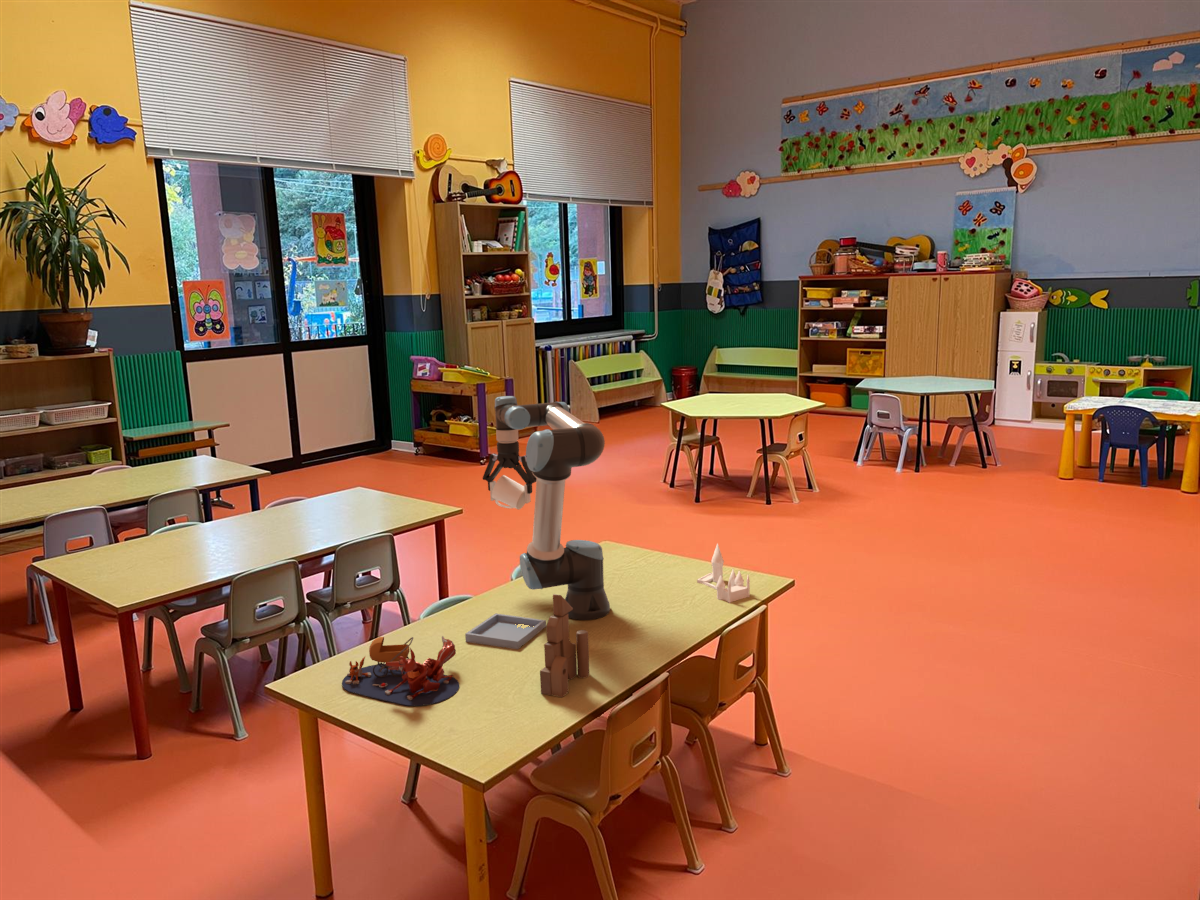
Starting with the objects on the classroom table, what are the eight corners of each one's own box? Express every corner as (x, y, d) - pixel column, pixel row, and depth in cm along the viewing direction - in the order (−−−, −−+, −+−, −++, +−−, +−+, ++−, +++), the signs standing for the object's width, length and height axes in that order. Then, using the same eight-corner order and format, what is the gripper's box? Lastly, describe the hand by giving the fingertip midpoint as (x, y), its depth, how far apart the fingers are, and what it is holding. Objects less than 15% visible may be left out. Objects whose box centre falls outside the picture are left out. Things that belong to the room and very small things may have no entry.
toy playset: (326, 686, 241) (322, 637, 238) (391, 650, 263) (388, 606, 261) (429, 711, 224) (425, 659, 222) (488, 671, 247) (486, 623, 245)
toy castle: (713, 581, 317) (712, 537, 314) (760, 600, 296) (760, 554, 293) (680, 589, 309) (680, 544, 306) (726, 609, 288) (726, 562, 285)
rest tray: (546, 628, 276) (545, 620, 276) (518, 650, 260) (517, 641, 260) (496, 621, 284) (495, 613, 283) (465, 641, 267) (465, 633, 267)
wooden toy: (562, 698, 229) (558, 606, 224) (540, 693, 232) (536, 602, 227) (591, 675, 242) (588, 587, 238) (570, 670, 245) (567, 584, 241)
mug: (533, 485, 310) (508, 472, 312) (522, 491, 302) (496, 478, 304) (523, 511, 314) (499, 499, 316) (512, 519, 306) (487, 506, 308)
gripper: (545, 440, 303) (547, 501, 307) (482, 438, 314) (485, 496, 317) (534, 444, 297) (537, 506, 300) (470, 441, 307) (474, 501, 311)
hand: (510, 501), depth 309 cm, fingers closed on mug, 13 cm apart
